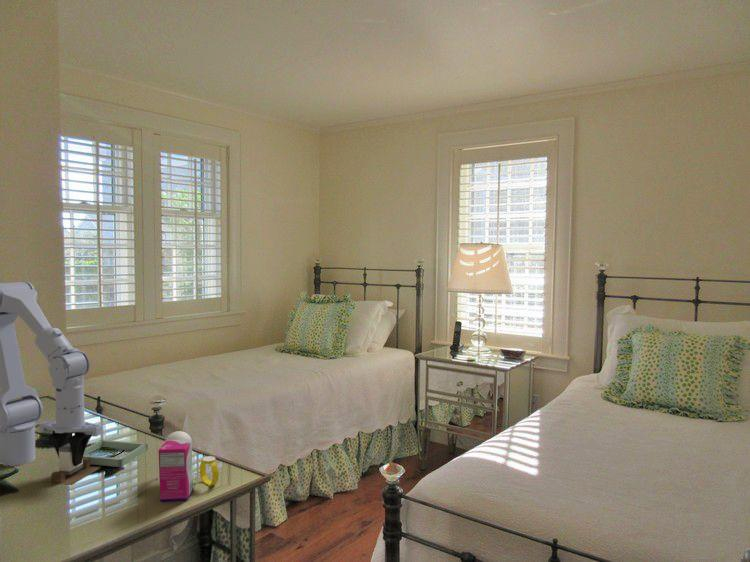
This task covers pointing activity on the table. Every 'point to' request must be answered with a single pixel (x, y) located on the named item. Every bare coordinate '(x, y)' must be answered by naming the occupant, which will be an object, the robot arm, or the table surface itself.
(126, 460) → the parts tray
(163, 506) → the table surface
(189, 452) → the supplement box
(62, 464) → the block
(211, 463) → the watch
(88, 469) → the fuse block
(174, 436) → the lightbulb
